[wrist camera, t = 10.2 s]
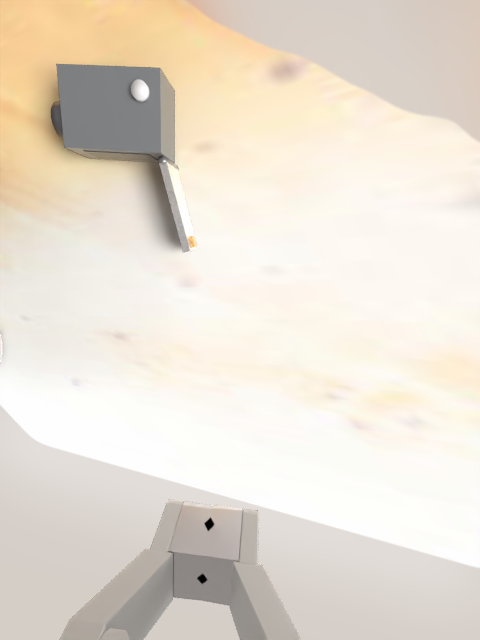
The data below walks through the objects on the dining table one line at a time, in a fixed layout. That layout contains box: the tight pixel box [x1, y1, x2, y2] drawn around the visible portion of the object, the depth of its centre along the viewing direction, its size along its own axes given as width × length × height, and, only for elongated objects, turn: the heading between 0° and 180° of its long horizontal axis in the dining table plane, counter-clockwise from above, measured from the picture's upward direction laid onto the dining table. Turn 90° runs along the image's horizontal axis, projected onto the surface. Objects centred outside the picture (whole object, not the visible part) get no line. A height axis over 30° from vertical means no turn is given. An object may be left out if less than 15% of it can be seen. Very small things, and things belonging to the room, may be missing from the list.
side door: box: [158, 155, 198, 252], centre depth 33 cm, size 10×1×4 cm, turn 13°
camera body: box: [51, 64, 175, 163], centre depth 30 cm, size 12×7×5 cm, turn 86°
